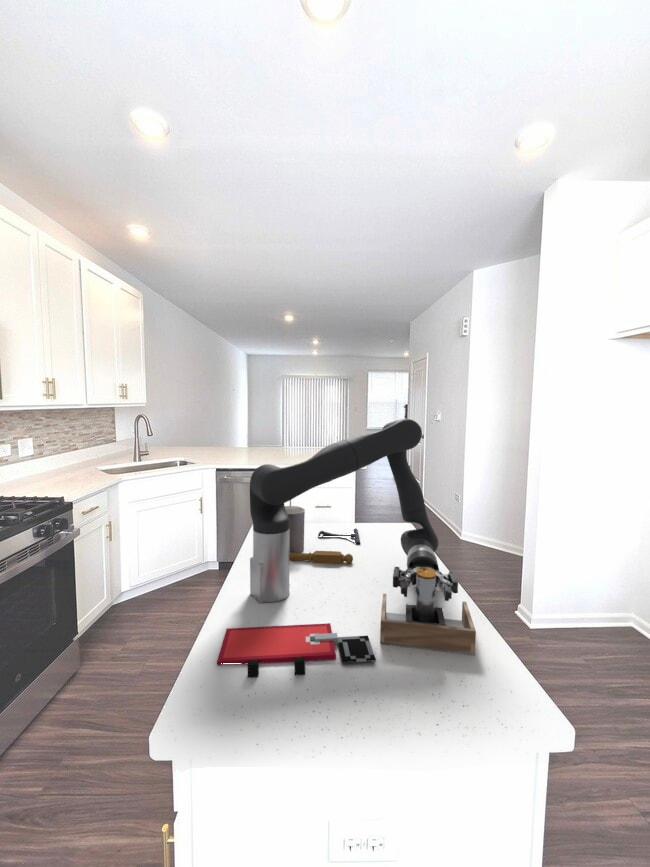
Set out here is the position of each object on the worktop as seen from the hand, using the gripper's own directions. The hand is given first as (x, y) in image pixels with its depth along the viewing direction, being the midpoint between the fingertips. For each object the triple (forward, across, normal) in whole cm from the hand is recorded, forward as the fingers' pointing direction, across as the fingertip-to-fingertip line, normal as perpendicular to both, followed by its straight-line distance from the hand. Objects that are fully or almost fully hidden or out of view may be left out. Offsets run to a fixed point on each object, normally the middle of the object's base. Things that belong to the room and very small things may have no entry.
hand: (426, 594), depth 85 cm
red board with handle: (+10, -26, +10) cm, 29 cm away
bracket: (-57, -27, +10) cm, 64 cm away
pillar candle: (-41, -41, +9) cm, 59 cm away
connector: (-2, 0, +9) cm, 9 cm away
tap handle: (-33, -34, +10) cm, 49 cm away
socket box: (-2, 0, +9) cm, 9 cm away
